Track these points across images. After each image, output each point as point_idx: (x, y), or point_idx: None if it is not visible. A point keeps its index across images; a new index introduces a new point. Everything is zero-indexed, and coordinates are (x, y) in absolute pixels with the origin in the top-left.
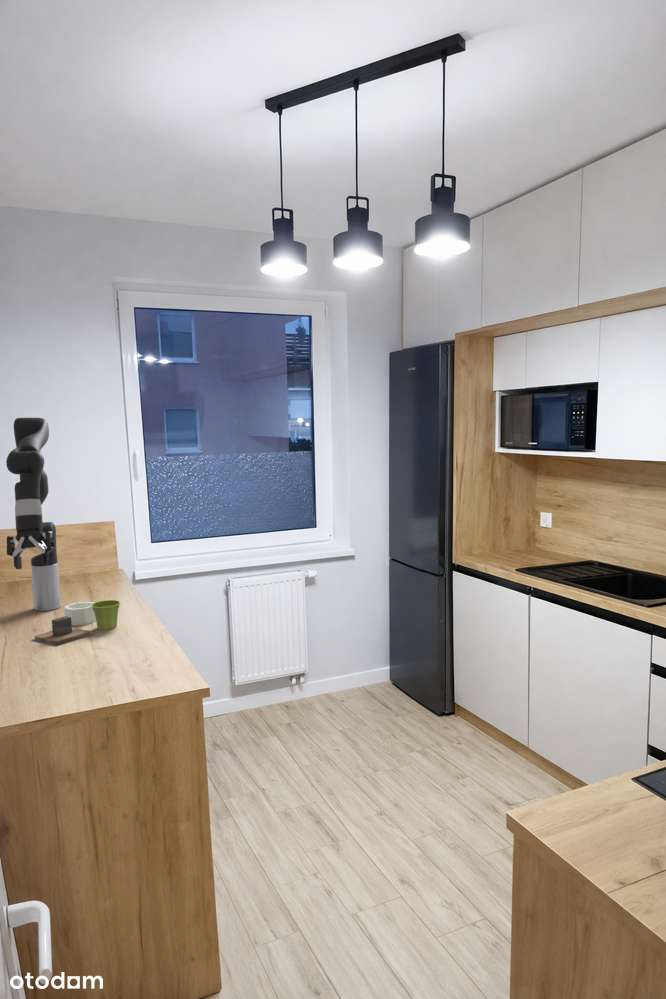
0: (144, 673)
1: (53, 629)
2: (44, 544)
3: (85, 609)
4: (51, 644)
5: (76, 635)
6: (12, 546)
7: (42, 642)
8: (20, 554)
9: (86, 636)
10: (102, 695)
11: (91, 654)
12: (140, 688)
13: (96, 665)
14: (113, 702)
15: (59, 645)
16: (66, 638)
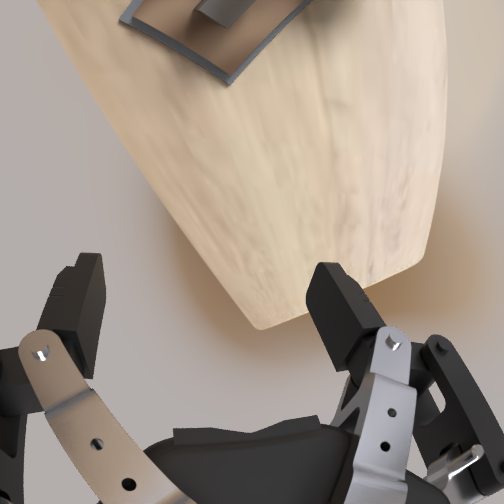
0: (391, 230)
1: (200, 12)
2: (408, 408)
3: None
4: (207, 62)
5: (275, 27)
6: (5, 461)
7: (170, 42)
8: (71, 361)
9: (295, 9)
10: None
11: (323, 141)
12: (377, 266)
13: (335, 199)
14: None
15: (235, 75)
16: (251, 50)
